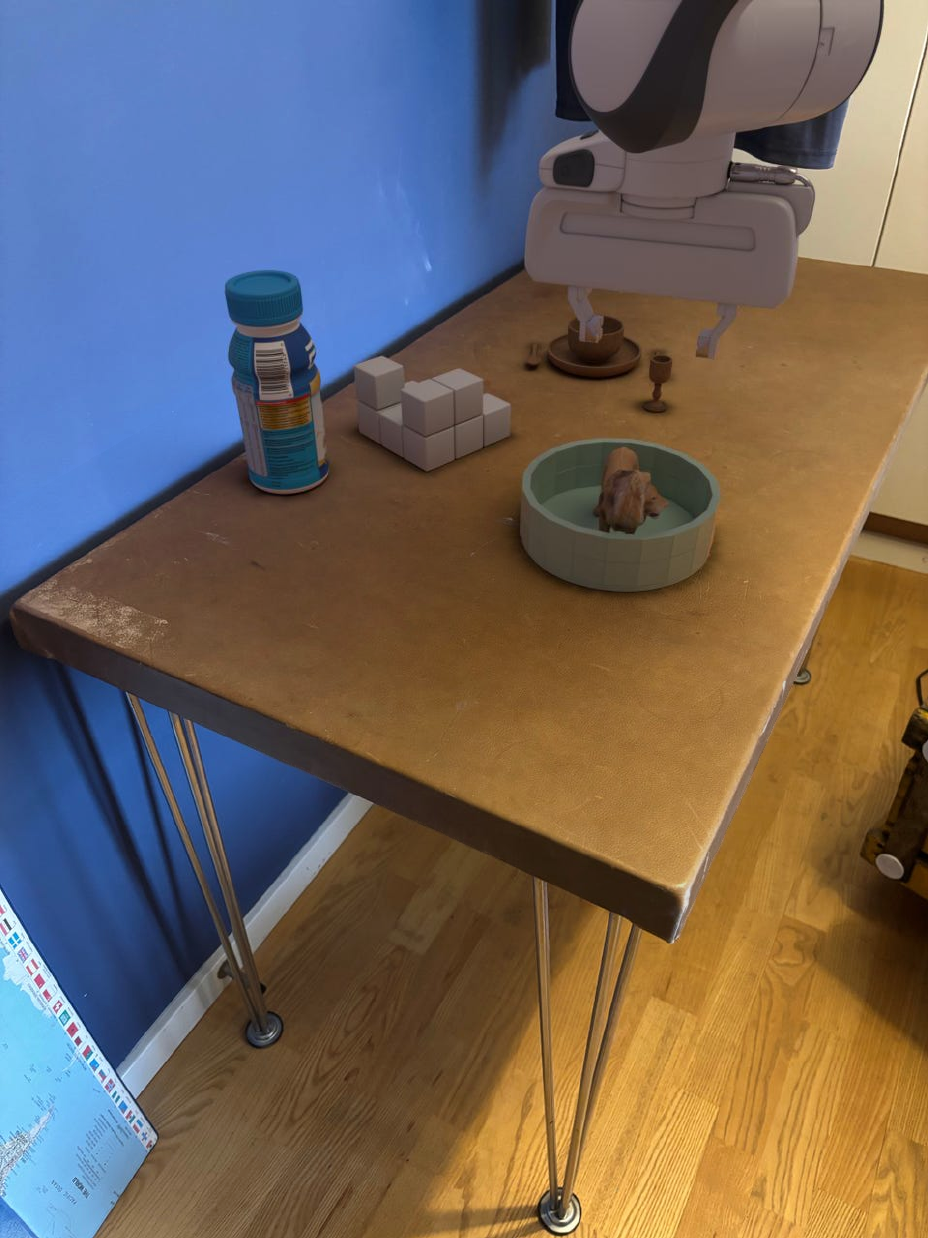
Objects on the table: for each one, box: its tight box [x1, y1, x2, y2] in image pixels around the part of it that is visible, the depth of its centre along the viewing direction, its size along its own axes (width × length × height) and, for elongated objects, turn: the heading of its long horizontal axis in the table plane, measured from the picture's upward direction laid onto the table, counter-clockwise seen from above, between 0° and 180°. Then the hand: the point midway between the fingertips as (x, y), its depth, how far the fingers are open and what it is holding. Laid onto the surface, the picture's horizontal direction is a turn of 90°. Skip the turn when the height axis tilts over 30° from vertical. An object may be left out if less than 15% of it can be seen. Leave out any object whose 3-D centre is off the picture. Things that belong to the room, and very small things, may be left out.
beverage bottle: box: [224, 269, 330, 495], centre depth 88 cm, size 8×8×20 cm
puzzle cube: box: [353, 355, 512, 472], centre depth 99 cm, size 12×12×8 cm
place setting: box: [525, 314, 673, 413], centre depth 111 cm, size 18×20×6 cm
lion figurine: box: [593, 447, 669, 534], centre depth 82 cm, size 15×5×9 cm, turn 2°
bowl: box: [519, 437, 723, 593], centre depth 83 cm, size 18×18×6 cm
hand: (647, 347), depth 73 cm, fingers open, 8 cm apart
